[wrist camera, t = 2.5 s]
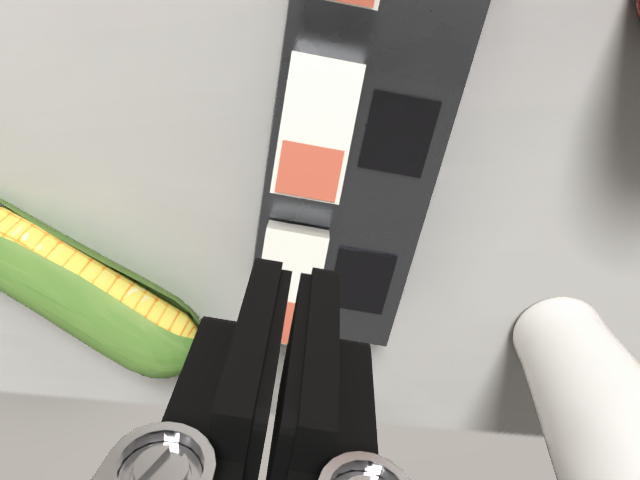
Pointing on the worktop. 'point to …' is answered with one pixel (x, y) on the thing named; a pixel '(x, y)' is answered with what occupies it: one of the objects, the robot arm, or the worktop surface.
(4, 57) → the worktop surface
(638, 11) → the supplement bottle
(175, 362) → the edible corn
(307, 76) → the plate
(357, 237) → the rocker switch panel
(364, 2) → the rocker
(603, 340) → the drinking glass
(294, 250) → the block
